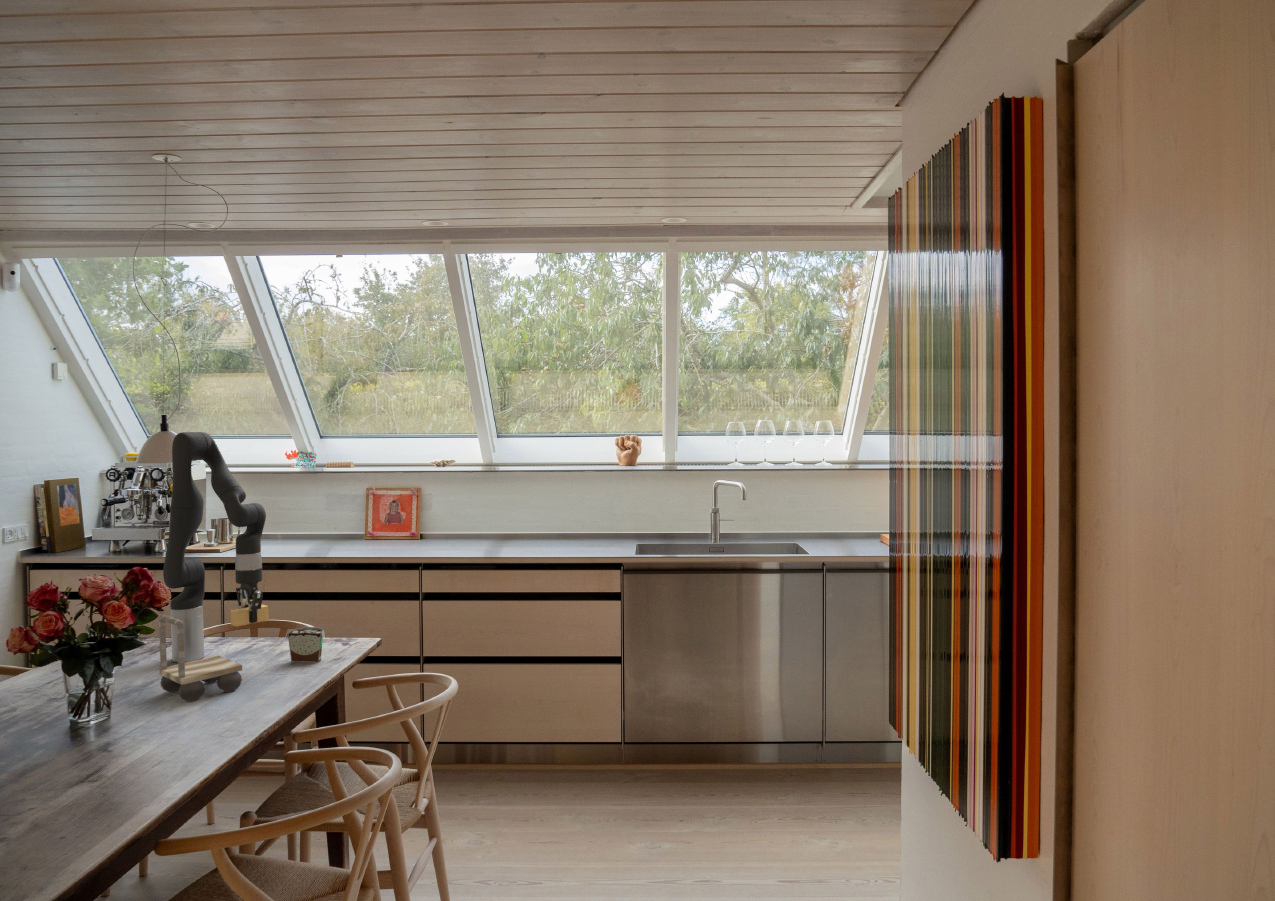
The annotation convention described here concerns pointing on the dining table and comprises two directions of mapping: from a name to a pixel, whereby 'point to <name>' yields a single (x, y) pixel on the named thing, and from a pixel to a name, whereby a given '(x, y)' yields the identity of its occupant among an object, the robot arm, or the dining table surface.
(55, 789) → the dining table surface
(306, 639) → the food container
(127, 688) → the dining table surface
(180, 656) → the trolley
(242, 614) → the block
